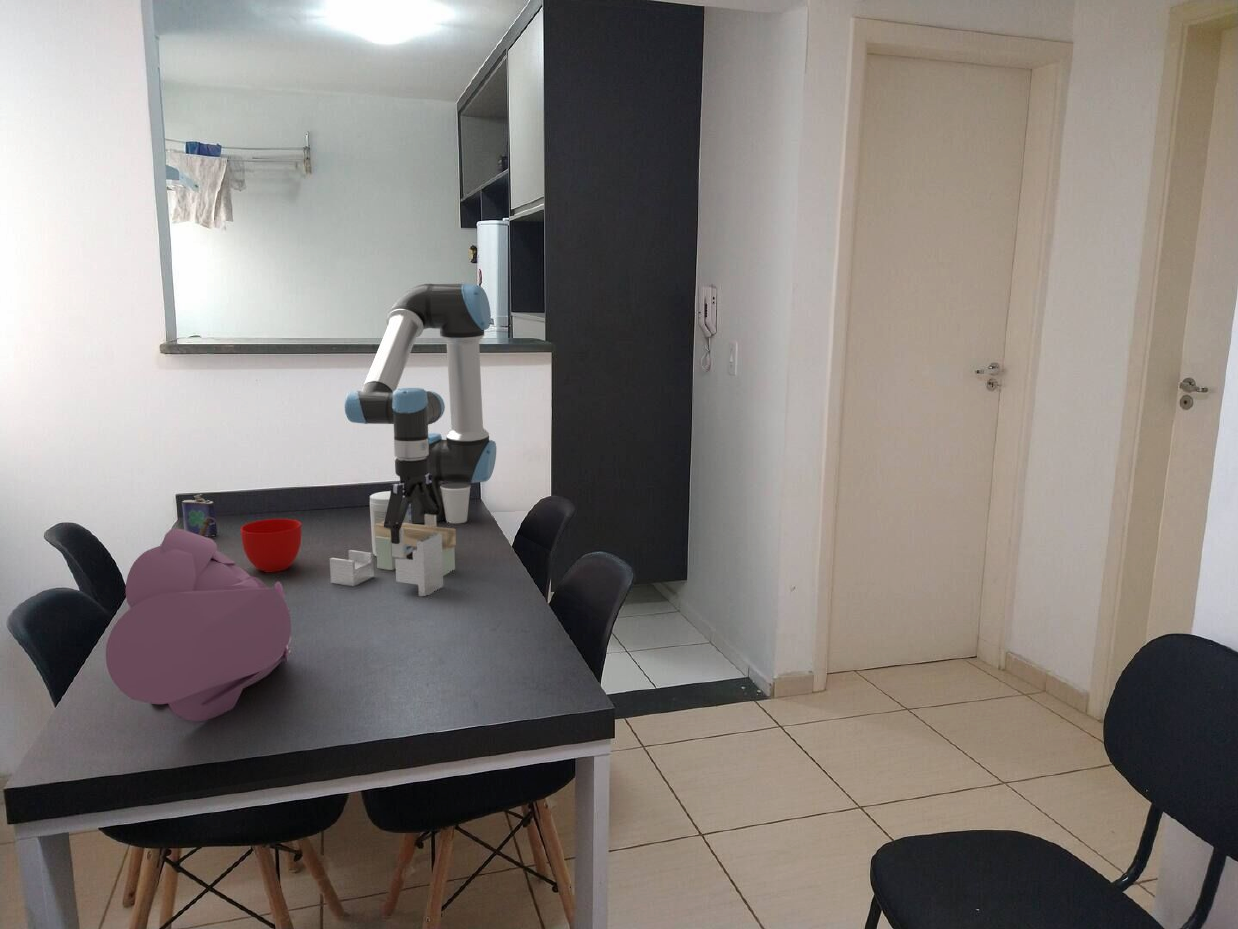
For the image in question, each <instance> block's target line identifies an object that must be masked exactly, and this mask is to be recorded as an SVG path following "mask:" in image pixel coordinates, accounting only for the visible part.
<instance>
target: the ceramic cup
mask: <svg viewBox="0 0 1238 929" xmlns="http://www.w3.org/2000/svg"><path fill="white" fill-rule="evenodd" d="M240 536H241V537H240V538H241V543H242V548H243V550H244V553H245V555H246V558H247V560H248V561H249V562H250V563H251V564H252V565H253V566H254V567H255V568H256V569H258V570H257V571H259V570H261V571H260V572H262V571H266V572H265V573H277V572H280V571H281V570H282V571H285V570H287V569H288V568H289V567H290V566H291V565H292V563H293V562H294V560H296V557H297V556H298V554H299V551H300V548H301V542H302V523H301V522H300V521H298V520H295V519H289V518H270V519H262V520H256V521H252V522H249V523H245V524H244V525H242V526H241V528H240ZM275 571H276V572H275Z"/></svg>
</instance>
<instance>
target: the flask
mask: <svg viewBox="0 0 1238 929" xmlns="http://www.w3.org/2000/svg"><path fill="white" fill-rule="evenodd" d="M202 496H203V494H202V493H200V494H197V495H193V498H195V499H194V500H193V499H184V500H183V501H181V506H182V516H183V530H185V531H188V532H191V533H195V534H199V532H200V529H201V528H202V527H203V523H204V520H205V521H206V518H207V517H210V522H209V526H207V532H206V534H205V535H208V536H212V535H216V534H217V535H218V528H217V527H218V526H217V520H216V510H215V502H214V501H212V500H210V499H207V500H205V499H204V498H203V497H202ZM211 518H214V519H215V521H214V519H211ZM214 522H215V523H214ZM212 523H214V524H212ZM210 524H211V525H210ZM208 536H207V537H208Z"/></svg>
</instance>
